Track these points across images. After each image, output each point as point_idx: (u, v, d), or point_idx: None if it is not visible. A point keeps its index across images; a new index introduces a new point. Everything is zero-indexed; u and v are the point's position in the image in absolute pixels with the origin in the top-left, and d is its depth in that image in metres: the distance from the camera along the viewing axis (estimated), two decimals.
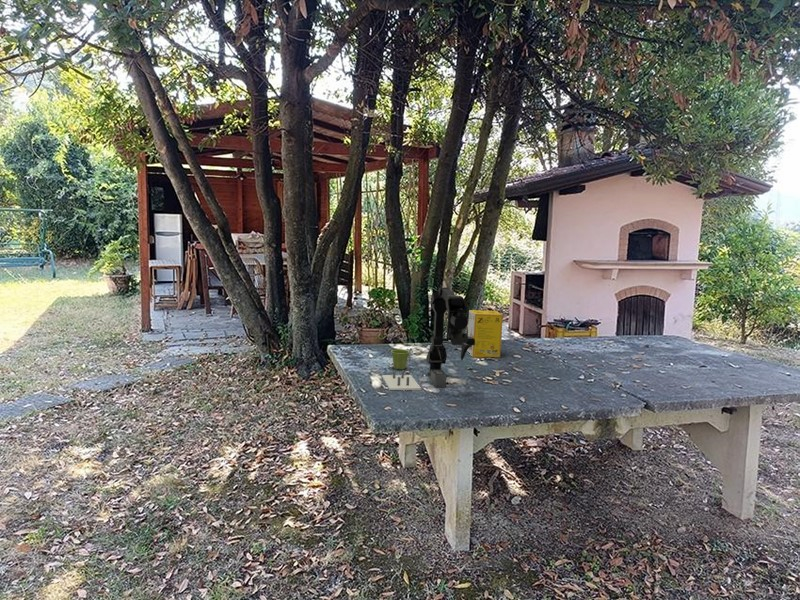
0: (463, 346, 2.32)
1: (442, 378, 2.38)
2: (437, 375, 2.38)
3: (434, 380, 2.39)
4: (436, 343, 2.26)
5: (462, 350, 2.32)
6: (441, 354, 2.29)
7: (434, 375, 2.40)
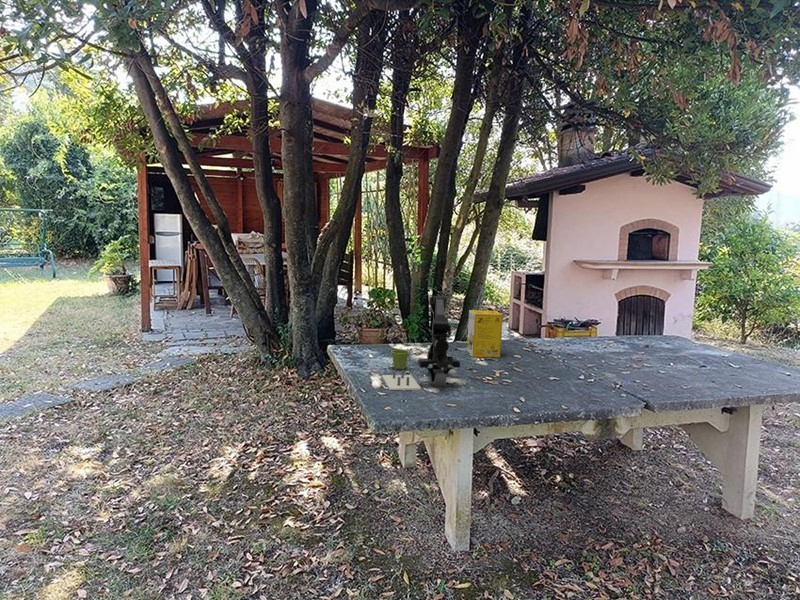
0: (445, 368, 2.43)
1: (442, 377, 2.38)
2: (437, 375, 2.38)
3: (434, 380, 2.39)
4: (423, 366, 2.37)
5: None
6: (432, 376, 2.41)
7: (434, 375, 2.40)
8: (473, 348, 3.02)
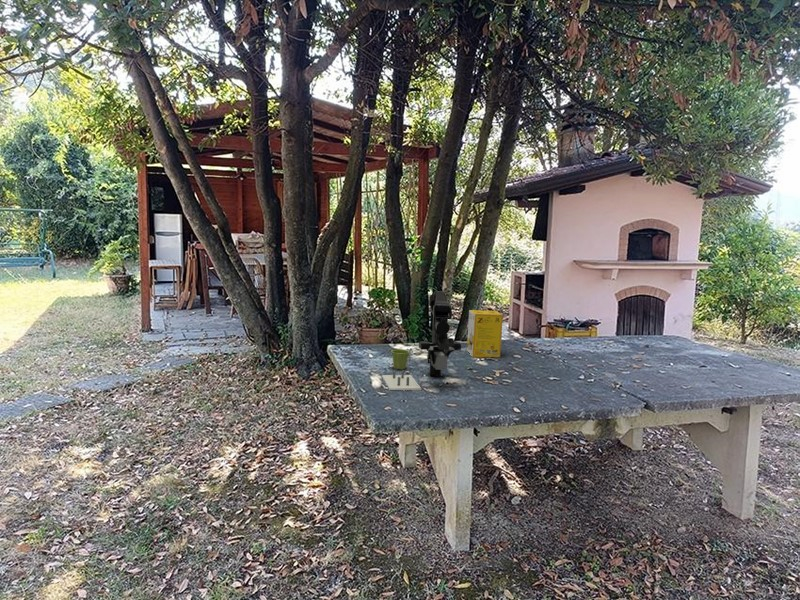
0: (446, 351, 2.42)
1: (443, 360, 2.37)
2: (438, 357, 2.37)
3: (435, 362, 2.38)
4: (423, 348, 2.36)
5: (445, 354, 2.42)
6: (433, 358, 2.40)
7: (435, 357, 2.38)
8: (473, 348, 3.02)
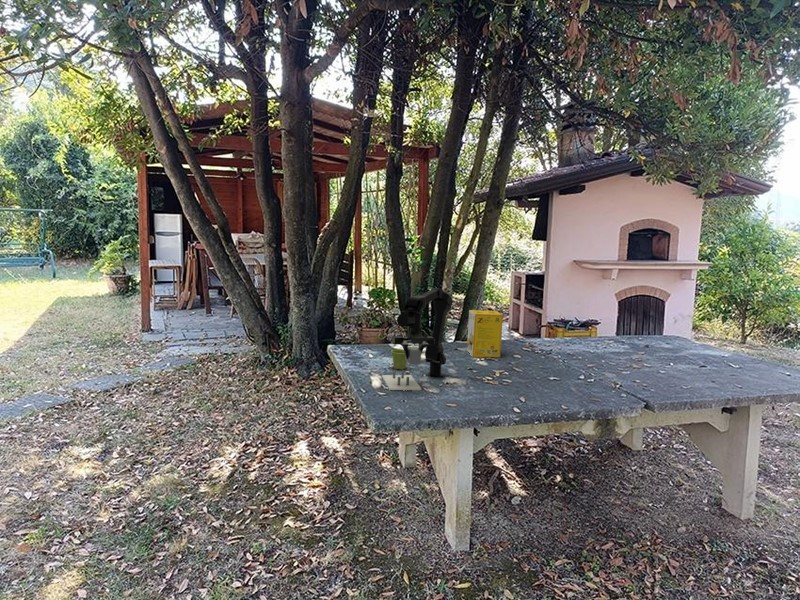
0: (419, 345, 2.41)
1: (417, 354, 2.36)
2: (412, 351, 2.35)
3: (409, 357, 2.37)
4: (397, 342, 2.35)
5: None
6: (406, 353, 2.38)
7: (409, 351, 2.37)
8: (473, 348, 3.02)
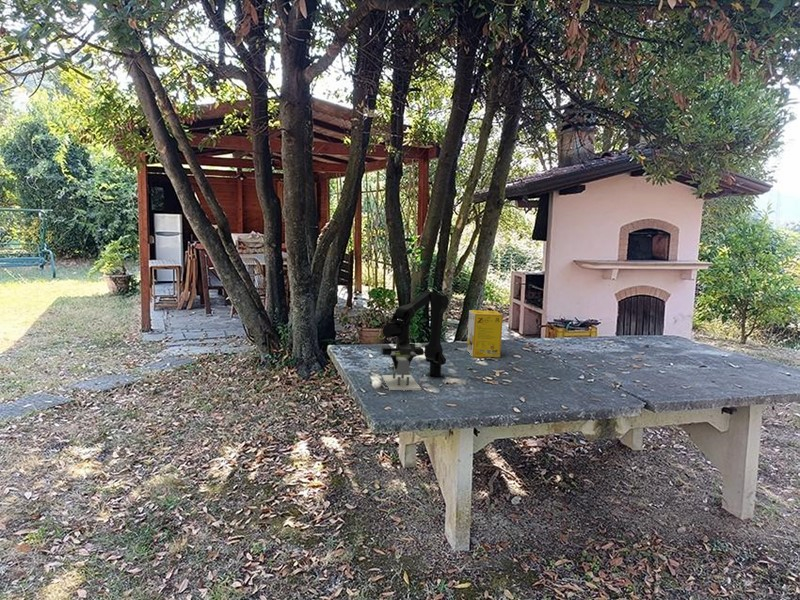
0: (408, 356, 2.41)
1: (405, 365, 2.36)
2: (400, 362, 2.36)
3: (397, 367, 2.37)
4: (385, 353, 2.35)
5: None
6: (395, 363, 2.39)
7: (397, 362, 2.37)
8: (473, 348, 3.02)
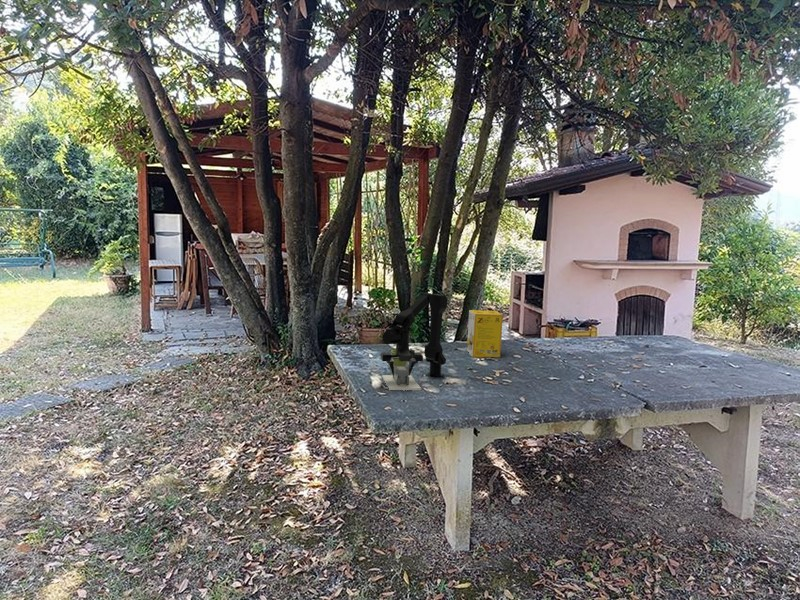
0: (410, 362, 2.42)
1: (405, 374, 2.37)
2: (399, 372, 2.36)
3: (396, 377, 2.38)
4: (385, 359, 2.36)
5: (409, 366, 2.42)
6: (392, 370, 2.39)
7: (396, 372, 2.38)
8: (473, 348, 3.02)
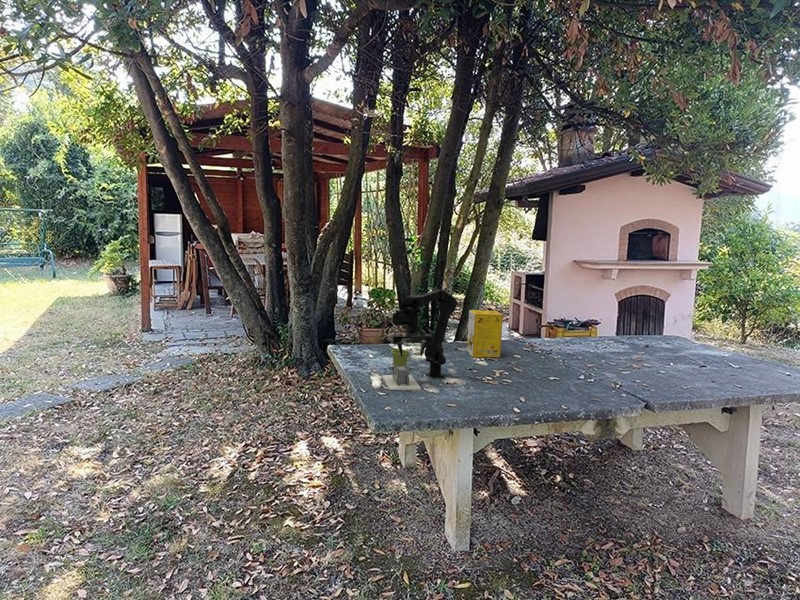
0: (422, 343, 2.46)
1: (405, 374, 2.37)
2: (399, 372, 2.36)
3: (396, 377, 2.38)
4: (395, 341, 2.40)
5: (421, 347, 2.46)
6: (401, 351, 2.43)
7: (396, 372, 2.38)
8: (473, 348, 3.02)
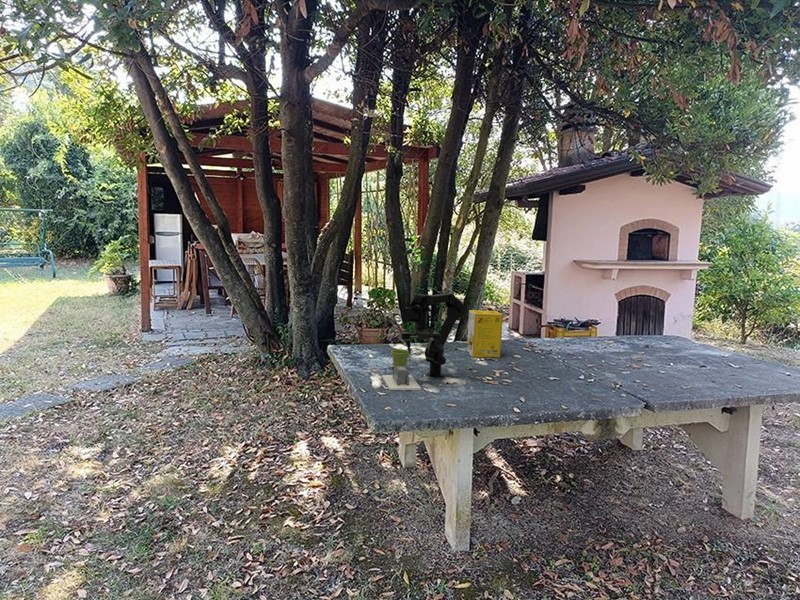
0: (430, 341, 2.50)
1: (405, 374, 2.37)
2: (399, 372, 2.36)
3: (396, 377, 2.38)
4: (404, 338, 2.44)
5: (429, 345, 2.51)
6: (409, 348, 2.48)
7: (396, 372, 2.38)
8: (473, 348, 3.02)
